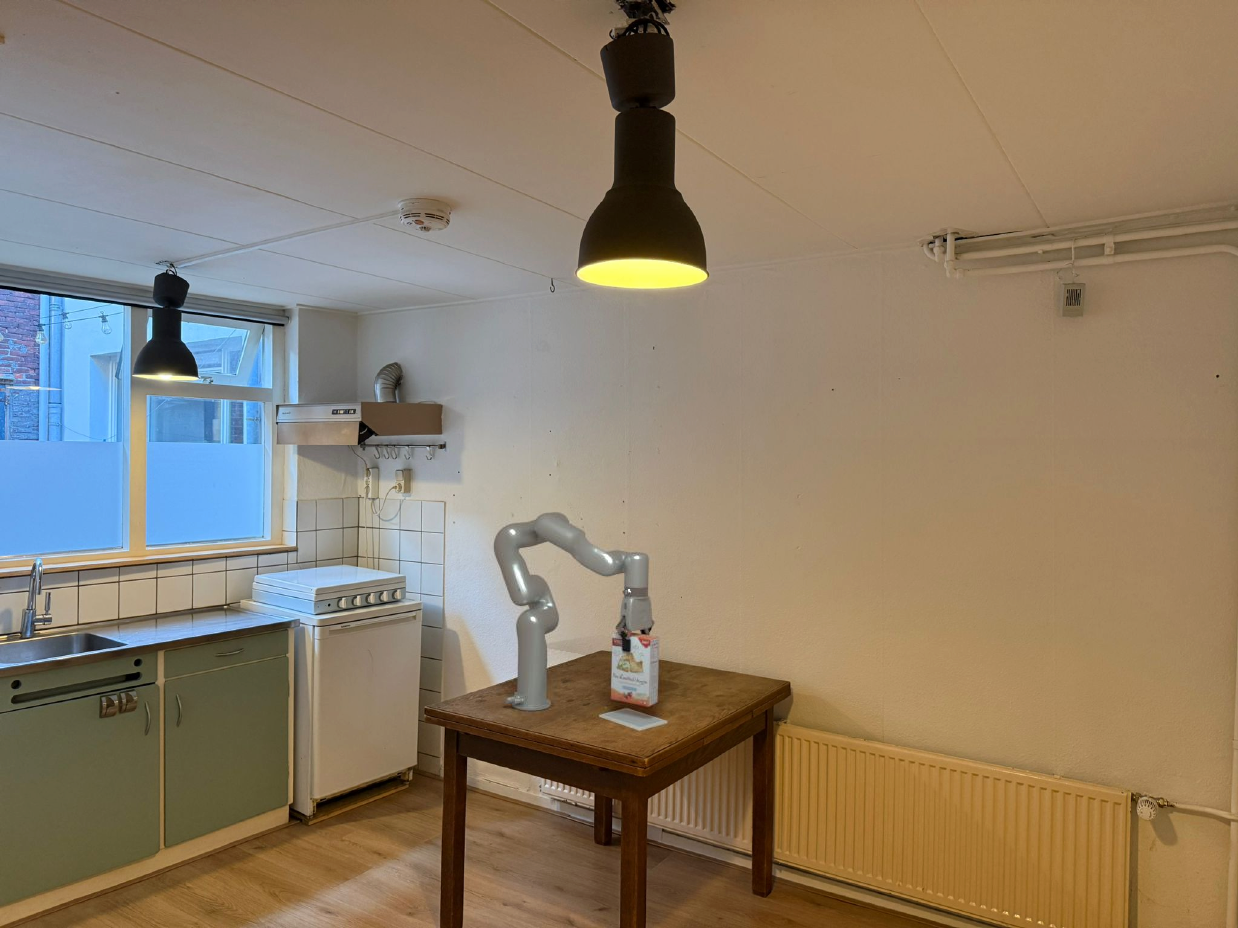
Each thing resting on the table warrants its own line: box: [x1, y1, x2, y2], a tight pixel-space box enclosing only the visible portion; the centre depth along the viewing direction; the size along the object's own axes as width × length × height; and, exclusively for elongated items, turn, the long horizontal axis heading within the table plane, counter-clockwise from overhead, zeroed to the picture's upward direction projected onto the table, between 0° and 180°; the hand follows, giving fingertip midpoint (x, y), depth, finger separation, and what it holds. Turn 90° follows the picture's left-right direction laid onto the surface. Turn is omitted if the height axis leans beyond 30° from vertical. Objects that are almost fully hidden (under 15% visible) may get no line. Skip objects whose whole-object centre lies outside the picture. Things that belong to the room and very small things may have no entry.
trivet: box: [599, 707, 668, 732], centre depth 256 cm, size 12×18×1 cm, turn 44°
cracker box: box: [610, 631, 660, 708], centre depth 256 cm, size 14×6×21 cm, turn 58°
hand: (634, 649), depth 256 cm, fingers closed on cracker box, 6 cm apart
